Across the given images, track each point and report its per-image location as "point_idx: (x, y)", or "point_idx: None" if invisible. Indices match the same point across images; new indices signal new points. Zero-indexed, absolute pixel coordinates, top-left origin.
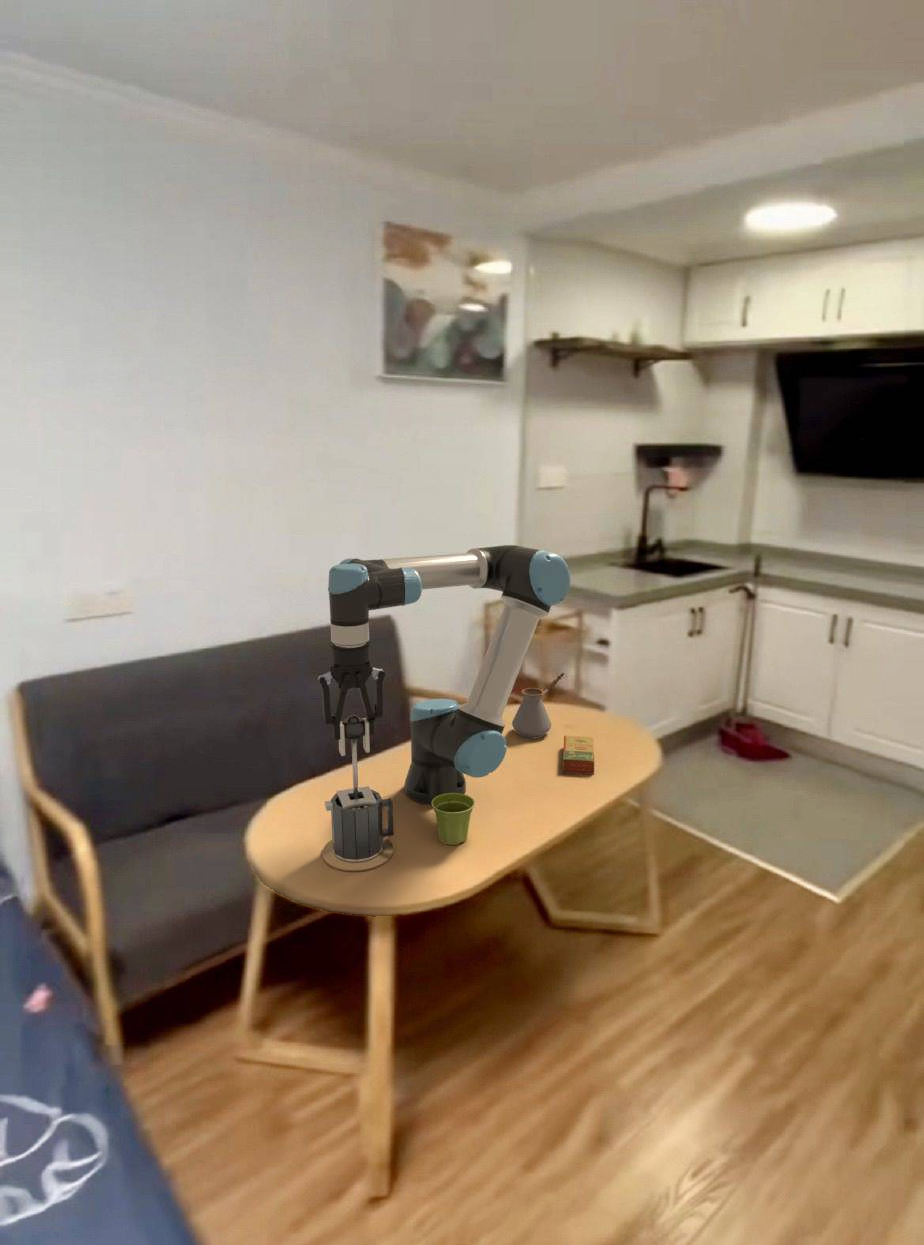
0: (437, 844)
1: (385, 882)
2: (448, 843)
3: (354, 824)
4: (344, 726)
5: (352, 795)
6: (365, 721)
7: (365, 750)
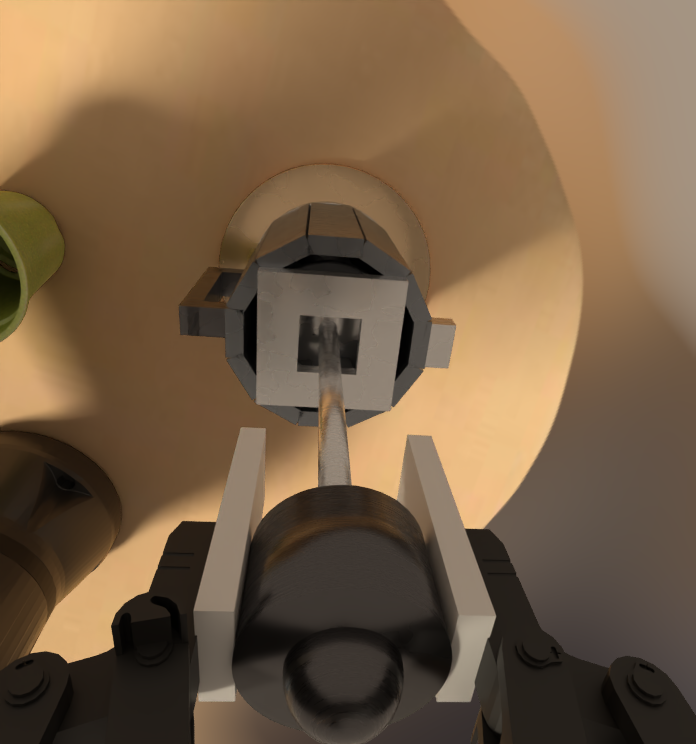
0: (78, 221)
1: (293, 66)
2: (38, 204)
3: (363, 229)
4: (442, 615)
5: None
6: (222, 640)
7: (265, 450)
